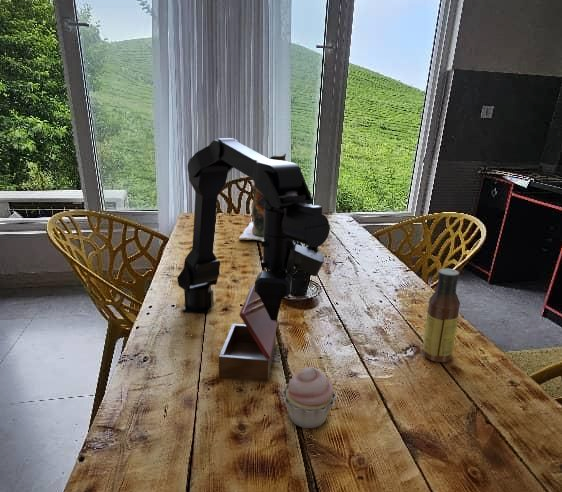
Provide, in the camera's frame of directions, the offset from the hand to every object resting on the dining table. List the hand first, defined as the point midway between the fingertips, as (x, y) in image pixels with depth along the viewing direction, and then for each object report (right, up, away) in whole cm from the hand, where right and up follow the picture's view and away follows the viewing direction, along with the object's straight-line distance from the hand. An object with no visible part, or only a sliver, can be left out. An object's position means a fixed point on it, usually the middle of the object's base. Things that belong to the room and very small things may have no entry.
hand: (276, 309), depth 87 cm
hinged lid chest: (-6, -11, +5) cm, 14 cm away
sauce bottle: (+35, -11, +10) cm, 38 cm away
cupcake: (+6, -18, -11) cm, 22 cm away
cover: (-4, -2, +1) cm, 5 cm away
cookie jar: (-2, +23, +92) cm, 94 cm away
